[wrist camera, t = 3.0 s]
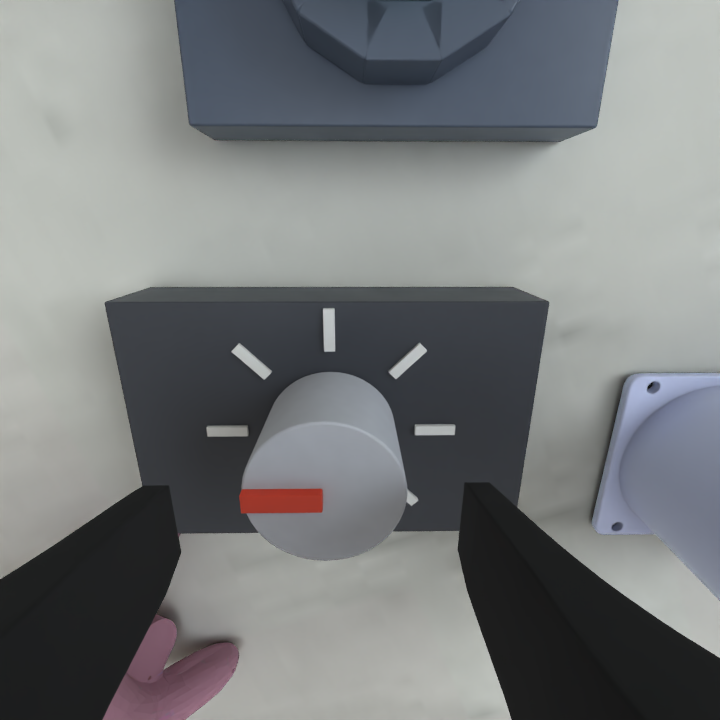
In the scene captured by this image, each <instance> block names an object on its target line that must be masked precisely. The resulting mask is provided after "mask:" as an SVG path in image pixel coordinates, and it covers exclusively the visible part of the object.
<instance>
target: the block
mask: <svg viewBox="0 0 720 720" xmlns="http://www.w3.org/2000/svg"><path fill="white" fill-rule="evenodd" d="M174 2H175V11H176V19H177V27H178V36H179V44H180V52H181V60H182V69H183V77H184V85H185V94H186V102H187V110H188V118H189V124H190V126H192V127H194V128H195V129H197V130H199V131H200V132H202V133H204V134H205V135H207V136H209V137H210V138H212V139H214V140H324V141H529V142H560V141H563V140H565V139H568V138H571V137H573V136H576V135H578V134H581V133H583V132H586V131H589V130H591V129H594V128H596V126H597V122H598V117H599V111H600V105H601V99H602V93H603V87H604V82H605V76H606V70H607V64H608V58H609V52H610V46H611V41H612V35H613V29H614V23H615V17H616V11H617V6H618V0H174Z"/></svg>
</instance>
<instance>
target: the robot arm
mask: <svg viewBox="0 0 720 720" xmlns="http://www.w3.org/2000/svg"><path fill="white" fill-rule="evenodd" d="M651 382H653V385H652V387H651V388H649V389H647V387H648V385H649V384H650V383H651ZM616 522H617V523H616ZM614 523H615V524H614ZM613 524H614V525H613ZM592 526H593V528H594V529H595V530H596V532H598V533H599V534H603V535H619V534H656V535H657V536H658V537H659V539H660V540H661V541H662V542H663V543H664V544H665V545H666V546H667V547H668V548H669V549H670V550H671V551H672V552H673V553H674V554H675V555H676V556H677V557H678V558H679V559H680V560H681V561H682V562H683V563H684V564H685V565H686V566H687V567H688V568H689V570H690V571H691V572H692V573H693V574H694V575H695V576H696V577H697V578H698V579H699V580H700V581H701V582H702V583H703V584H704V585H705V586H706V587H707V588H708V589H709V590H710V591H711V592H712V593H713V594H714V595H715V596H716V597H717V598H718V599H719V601H720V373H637V374H633V375H631V376H629V377H628V378H627V379H626V381H625V383H624V386H623V390H622V394H621V399H620V403H619V407H618V411H617V416H616V420H615V424H614V429H613V433H612V437H611V441H610V446H609V450H608V454H607V459H606V463H605V467H604V471H603V476H602V480H601V484H600V488H599V493H598V497H597V501H596V506H595V510H594V514H593V518H592ZM458 552H459V557H460V561H461V566H462V570H463V575H464V579H465V583H466V587H467V591H468V594H469V597H470V600H471V603H472V606H473V609H474V612H475V615H476V617H477V620H478V623H479V626H480V629H481V632H482V635H483V637H484V640H485V643H486V646H487V649H488V651H489V654H490V657H491V660H492V663H493V666H494V668H495V671H496V674H497V677H498V680H499V683H500V685H501V688H502V691H503V694H504V697H505V700H506V703H507V706H508V709H509V712H510V716H511V719H512V720H720V658H719V657H717V656H716V655H714V654H712V653H711V652H709V651H707V650H706V649H704V648H703V647H701V646H699V645H698V644H696V643H695V642H693V641H691V640H690V639H688V638H686V637H685V636H683V635H682V634H680V633H679V632H677V631H676V630H674V629H672V628H671V627H669V626H668V625H666V624H665V623H663V622H662V621H660V620H659V619H657V618H656V617H654V616H653V615H652V614H650V613H649V612H647V611H646V610H644V609H643V608H642V607H640V606H639V605H637V604H636V603H634V602H633V601H631V600H630V599H629V598H627V597H626V596H624V595H623V594H621V593H620V592H619V591H617V590H616V589H615V588H613V587H612V586H611V585H609V584H608V583H607V582H605V581H604V580H603V579H601V578H600V577H599V576H597V575H596V574H595V573H594V572H592V571H591V570H590V569H589V568H587V567H586V566H585V565H583V564H582V563H581V562H580V561H578V560H577V559H576V558H575V557H573V556H572V555H571V554H570V553H569V552H567V551H566V550H565V549H564V548H563V547H561V546H560V545H559V544H558V543H557V542H555V541H554V540H553V539H552V538H551V537H550V536H548V535H547V534H546V533H545V532H544V531H543V530H542V529H540V528H539V527H538V526H537V525H536V524H535V523H534V522H533V521H531V520H530V519H529V518H528V517H527V516H526V515H525V514H524V513H523V512H522V511H520V510H519V509H518V508H517V507H516V506H515V505H514V504H513V503H512V502H511V501H510V500H508V499H507V498H506V497H505V496H504V495H503V494H502V493H501V492H500V491H499V490H498V489H496V488H495V487H494V486H493V485H492V484H491V483H490V482H465V483H464V493H463V502H462V512H461V522H460V532H459V542H458ZM180 554H181V548H180V543H179V537H178V532H177V526H176V521H175V515H174V510H173V505H172V499H171V494H170V488H169V485H148V486H142V487H141V488H139V489H137V490H135V491H134V492H132V493H131V494H129V495H128V496H126V497H125V498H123V499H122V500H120V501H119V502H117V503H116V504H114V505H113V506H111V507H110V508H108V509H107V510H105V511H104V512H102V513H101V514H100V515H98V516H97V517H95V518H94V519H92V520H91V521H89V522H88V523H86V524H85V525H83V526H82V527H80V528H79V529H77V530H76V531H75V532H73V533H72V534H70V535H69V536H67V537H66V538H64V539H63V540H61V541H60V542H58V543H57V544H55V545H54V546H52V547H51V548H49V549H48V550H46V551H44V552H43V553H41V554H40V555H38V556H37V557H35V558H33V559H32V560H30V561H29V562H27V563H26V564H24V565H22V566H21V567H19V568H18V569H16V570H14V571H13V572H11V573H10V574H8V575H7V576H5V577H3V578H2V579H0V720H103V718H104V716H105V714H106V711H107V709H108V707H109V705H110V703H111V701H112V699H113V697H114V695H115V693H116V691H117V689H118V688H119V686H120V684H121V682H122V680H123V678H124V676H125V674H126V672H127V670H128V668H129V666H130V664H131V662H132V660H133V658H134V656H135V654H136V652H137V651H138V649H139V647H140V645H141V643H142V641H143V639H144V637H145V635H146V633H147V631H148V629H149V627H150V625H151V623H152V621H153V619H154V617H155V615H156V613H157V611H158V609H159V607H160V605H161V603H162V601H163V599H164V597H165V595H166V592H167V590H168V587H169V585H170V582H171V579H172V577H173V574H174V571H175V568H176V566H177V563H178V560H179V557H180Z"/></svg>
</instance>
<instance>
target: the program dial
mask: <svg viewBox="0 0 720 720" xmlns="http://www.w3.org/2000/svg"><path fill="white" fill-rule="evenodd" d="M241 488H242V490H241V493H240V495H239V500H240V509H241V513H247V516H248V518H249V519H250V521H251V523H252V524H253V526H254V527H255V529H256V530H257V531H258V532H259V533H260V534H261V535H262V536H263V537H264V538H265V539H266V540H267V541H268V542H270V543H271V544H273V545H274V546H276V547H277V548H279V549H281V550H283V551H285V552H287V553H289V554H292V555H295V556H298V557H302V558H306V559H312V560H324V561H328V560H340V559H346V558H350V557H353V556H357V555H359V554H362V553H364V552H366V551H368V550H370V549H372V548H374V547H375V546H377V545H378V544H380V543H381V542H382V541H383V540H384V539H386V538H387V537H388V536H389V535H390V534H391V532H392V531H393V530H394V529H395V527H396V526H397V524H398V523H399V521H400V519H401V517H402V515H403V512H404V509H405V506H406V501H407V482H406V476H405V472H404V467H403V462H402V457H401V452H400V447H399V442H398V437H397V432H396V428H395V423H394V418H393V414H392V411H391V409H390V407H389V405H388V403H387V401H386V400H385V398H384V397H383V395H382V394H381V393H380V392H379V391H378V390H377V389H376V388H374V387H373V386H372V385H371V384H369V383H368V382H366V381H364V380H362V379H360V378H358V377H356V376H353V375H349V374H345V373H340V372H321V373H315V374H311V375H308V376H305V377H303V378H301V379H299V380H297V381H295V382H294V383H292V384H291V385H289V386H288V387H287V388H286V389H285V390H284V391H283V392H282V393H281V394H280V395H279V396H278V398H277V399H276V401H275V402H274V404H273V407H272V409H271V411H270V413H269V415H268V418H267V420H266V422H265V424H264V427H263V429H262V431H261V434H260V436H259V438H258V440H257V443H256V445H255V447H254V449H253V452H252V454H251V456H250V459H249V461H248V463H247V465H246V468H245V471H244V474H243V478H242V486H241Z"/></svg>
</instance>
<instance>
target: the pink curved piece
mask: <svg viewBox="0 0 720 720" xmlns="http://www.w3.org/2000/svg"><path fill="white" fill-rule="evenodd" d="M179 536H180V533H179V534H178V537H179ZM176 636H177V629H176V626H175V624H174V623H173V621H171V620H169V619H167V618H165V617H162V616H160V615H157V614H156V615H155V617H154V619H153V621H152V623H151V625H150V627H149V629H148V631H147V633H146V635H145V637H144V639H143V641H142V643H141V645H140V647H139V649H138V651H137V652H136V654H135V656H134V658H133V660H132V662H131V664H130V666H129V668H128V670H127V672H126V674H125V676H124V678H123V680H122V682H121V684H120V686H119V688H118V689H117V691H116V693H115V695H114V697H113V699H112V701H111V703H110V705H109V707H108V709H107V711H106V714H105V716H104V718H103V720H185V719H186V718H188V717H189V716H190V715H192V714H193V713H194V712H196V711H197V710H198V709H199V708H201V707H202V706H203V705H205V704H206V703H207V702H208V701H209V700H210V699H212V698H213V697H214V696H215V695H216V694H217V693H219V692H220V691H221V690H222V688H223V687H224V686H225V685H226V683H227V682H228V681H229V679H230V678H231V677H232V675H233V673H234V671H235V669H236V666H237V663H238V659H239V652H238V649H237V647H236V646H235V645H234V644H233V643H228V642H225V643H217V644H213V645H210V646H207V647H205V648H203V649H201V650H198V651H196V652H194V653H192V654H190V655H189V656H187V657H185V658H183V659H181V660H180V661H178V662H176V663H174V664H172V665H171V666H169V667H168V668H166V669H164V666H165V664H166V661H167V659H168V657H169V655H170V653H171V651H172V649H173V647H174V644H175V641H176ZM163 669H164V670H163Z"/></svg>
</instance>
